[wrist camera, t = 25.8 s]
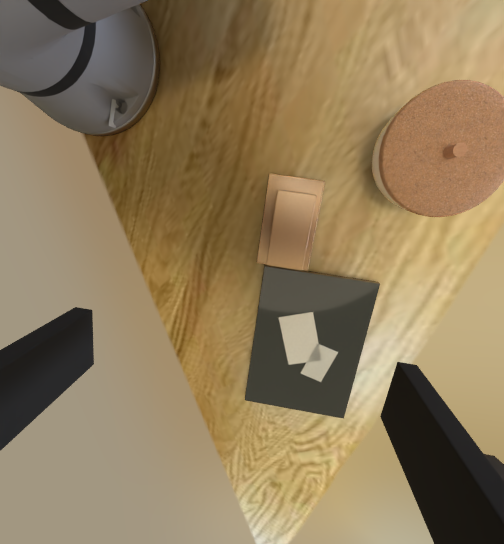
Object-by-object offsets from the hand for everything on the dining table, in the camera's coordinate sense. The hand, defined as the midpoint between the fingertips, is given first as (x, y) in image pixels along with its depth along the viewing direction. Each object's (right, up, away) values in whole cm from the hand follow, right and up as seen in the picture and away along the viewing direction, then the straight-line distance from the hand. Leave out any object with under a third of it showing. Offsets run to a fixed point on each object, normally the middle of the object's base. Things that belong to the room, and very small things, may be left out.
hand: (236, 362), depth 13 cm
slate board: (+8, -6, +27) cm, 28 cm away
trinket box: (+18, +16, +19) cm, 31 cm away
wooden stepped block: (+5, +10, +22) cm, 25 cm away
